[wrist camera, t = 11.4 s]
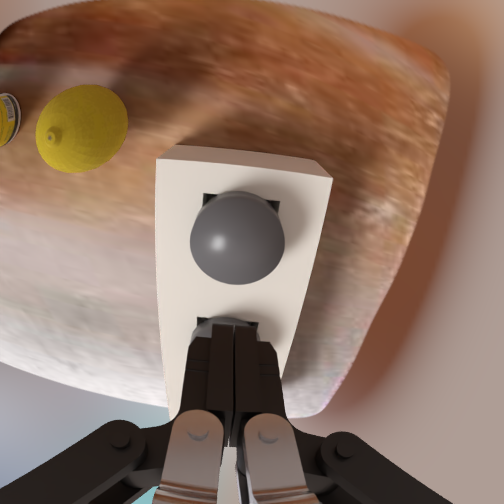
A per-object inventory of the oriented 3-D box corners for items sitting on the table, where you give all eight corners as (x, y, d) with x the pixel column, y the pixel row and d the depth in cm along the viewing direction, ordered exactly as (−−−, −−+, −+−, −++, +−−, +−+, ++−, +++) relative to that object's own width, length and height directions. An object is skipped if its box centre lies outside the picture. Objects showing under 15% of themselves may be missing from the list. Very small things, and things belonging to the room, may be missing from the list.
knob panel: (262, 392, 34) (264, 427, 29) (176, 384, 33) (170, 420, 29) (314, 160, 22) (333, 178, 17) (174, 144, 21) (156, 158, 16)
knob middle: (254, 334, 28) (256, 382, 23) (196, 329, 27) (188, 376, 22) (262, 287, 25) (266, 334, 20) (197, 281, 25) (188, 328, 20)
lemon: (155, 133, 20) (112, 156, 13) (96, 169, 21) (40, 206, 14) (123, 70, 18) (67, 64, 11) (66, 110, 19) (0, 126, 12)
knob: (269, 245, 23) (276, 288, 19) (199, 238, 23) (188, 280, 18) (280, 178, 21) (292, 205, 16) (204, 170, 21) (191, 195, 16)
